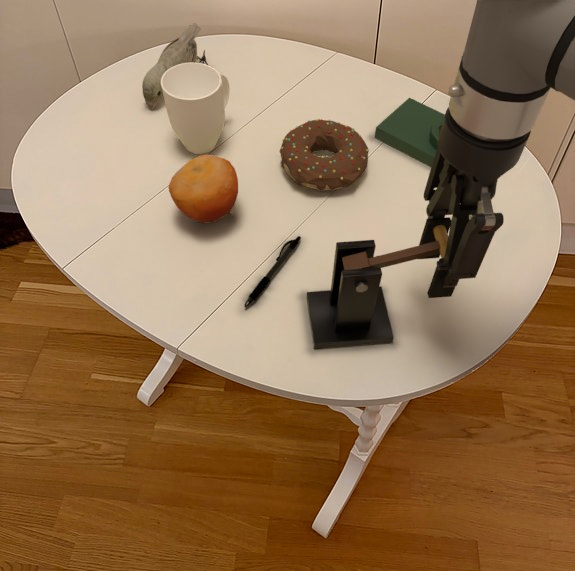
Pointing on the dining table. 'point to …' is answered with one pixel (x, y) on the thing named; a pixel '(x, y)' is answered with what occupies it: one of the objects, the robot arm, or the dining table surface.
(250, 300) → the pen
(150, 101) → the decorative bird
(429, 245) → the lever
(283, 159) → the donut
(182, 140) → the mug
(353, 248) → the switch bracket
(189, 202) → the fruit
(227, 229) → the dining table surface
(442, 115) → the button block
